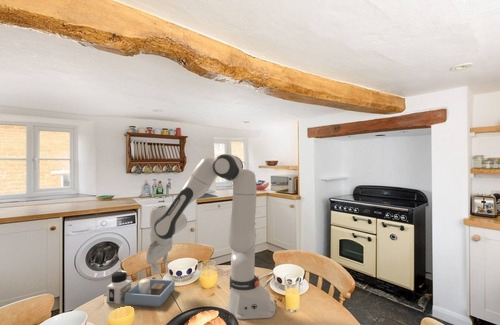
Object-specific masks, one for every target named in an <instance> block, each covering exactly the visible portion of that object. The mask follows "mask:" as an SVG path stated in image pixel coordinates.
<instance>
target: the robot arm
mask: <svg viewBox="0 0 500 325" xmlns="http://www.w3.org/2000/svg"><path fill="white" fill-rule="evenodd" d="M243 164H244V163H243V161H242V160H241V158H239V157H238V156H236V155H233V154H229V153H228V154H227V153H226V154H225V153H223V154H220V155H217V157H215V159H214V158H212V157H203V158H202V159H201V160H200V162H198V164H196V166H195V168H194V169H193V171H192V172H191V174H190V175H189V178H188V179H187V181H186V182H185V184H184V185H183V187H182V188H181V190H180V191H179V193H178V194H177V196H176V197H175V198H174V200H173V201H172V203H171V204H170V206H166V205H160V206H155V207H153V208H152V209H151V210H150V213H149V226H150V232H149V239H150V240H149V241H150V244H149V246H148V247H147V249H146V259H145V260H146V261H145V262H146V264H147V265H151V266H152V269H153V271H155V272H156V271H158V270H159V265H158V261H160V260H161V259H162V263H163V264H166V263H167V262H168V256H169V253H170V252H171V251H172V249H173V237H174V235H176V234H178V233H179V232H181V231H182V230H183V229H186V227H187V224H188V220H187V217H186V215H185V214H184V211H185V210H186V209H187V208H188V206H190V204H192V203H193V202H194V201H196V200H197V199H199V198H201V197H203V196H204V195H205V194H206V193H207V192H208V191H209V189H210V188H211V186H212V184H214V181H215V180H216V179H217V177H219V178H222V179H225V180H227V181H229V182H230V181H231V182H232V206H231V216H230V217H231V218H230V223H229V224H230V226H229V235H228V236H229V237H228V244H229V247H230V249H231V257H230V276H229V290H230V291H229V297H228V301H227V304H226V308H227V310H228V312H229V313H230V314H232V315H233V316H235V318H236V319H237V320H255V319H256V320H257V319H271V318H273V317H274V316H275V315H276V314H275V313H276V309H277V308H276V306H277V305H276V302H275V301H274V299H273V298H271V294H270V291H269V290H268V289H267V288H265V287H264V286H263V285H261V284H260V279H259V276H256V275H255V270H256V269H255V266H256V265H255V262H256V260H255V258H256V257H255V256H256V226H255V224H256V213H257V212H256V211H257V210H256V209H257V179H256V174H255V173H254V172H253V171H252V170H250V169H244V165H243Z"/></svg>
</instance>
